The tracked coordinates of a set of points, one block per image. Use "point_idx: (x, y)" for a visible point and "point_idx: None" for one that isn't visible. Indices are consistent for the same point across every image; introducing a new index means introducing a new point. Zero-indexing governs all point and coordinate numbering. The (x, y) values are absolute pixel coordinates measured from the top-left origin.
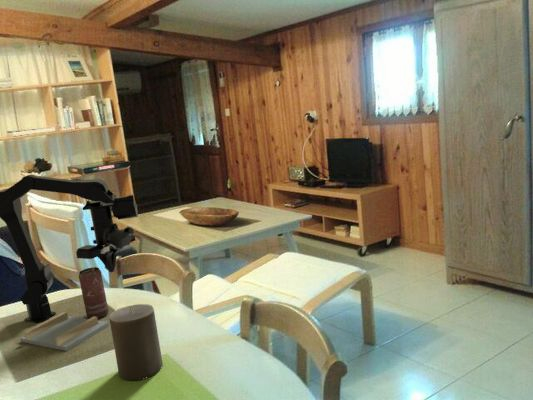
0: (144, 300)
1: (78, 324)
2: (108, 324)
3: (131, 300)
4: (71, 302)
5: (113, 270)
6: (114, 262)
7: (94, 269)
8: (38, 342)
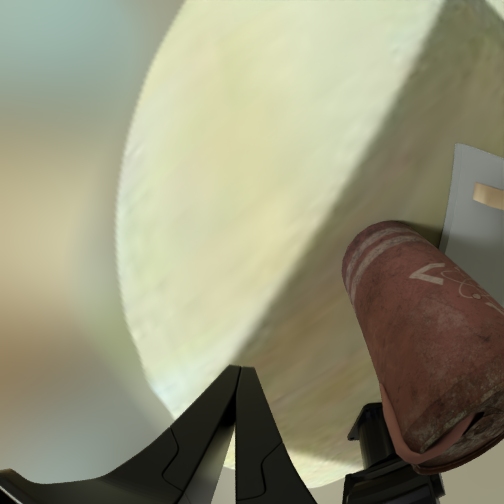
0: (196, 146)
1: (477, 262)
2: (459, 143)
3: (210, 216)
4: (277, 420)
5: (235, 369)
6: (199, 418)
7: (450, 434)
8: None
